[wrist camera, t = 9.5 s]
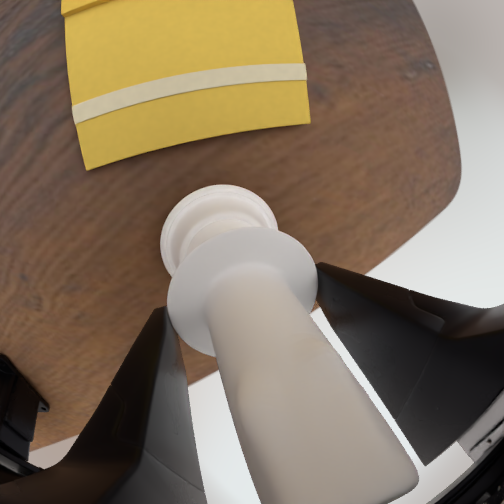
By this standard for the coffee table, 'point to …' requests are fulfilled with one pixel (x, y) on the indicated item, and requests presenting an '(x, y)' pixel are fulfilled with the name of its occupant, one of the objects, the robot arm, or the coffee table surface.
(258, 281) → the candle
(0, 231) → the coffee table surface
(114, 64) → the towel
